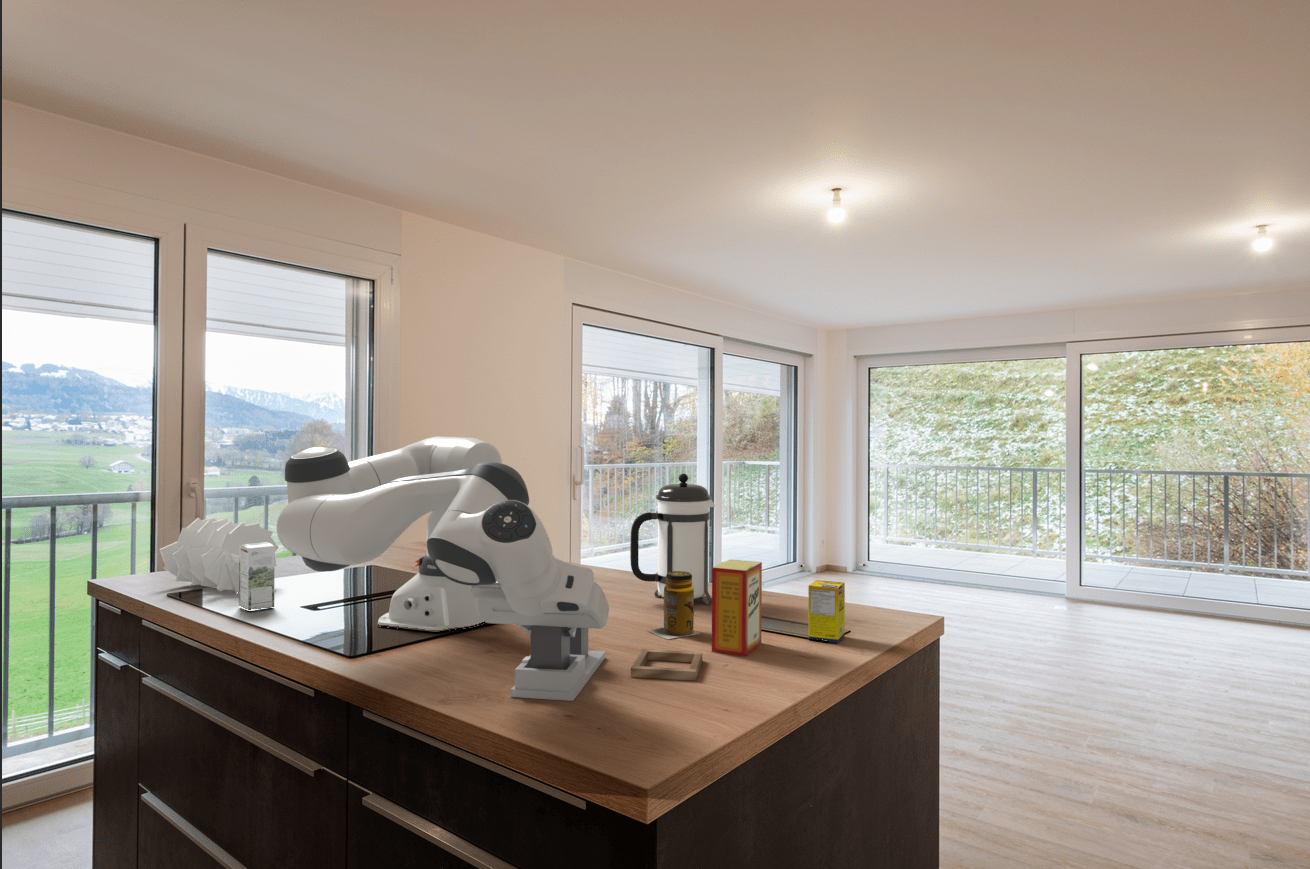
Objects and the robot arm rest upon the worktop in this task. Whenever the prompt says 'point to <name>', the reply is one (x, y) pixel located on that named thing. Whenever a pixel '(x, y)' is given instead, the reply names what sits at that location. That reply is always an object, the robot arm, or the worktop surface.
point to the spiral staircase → (212, 552)
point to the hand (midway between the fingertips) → (552, 632)
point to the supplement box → (826, 610)
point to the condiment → (678, 606)
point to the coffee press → (678, 536)
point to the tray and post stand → (559, 673)
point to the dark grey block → (549, 648)
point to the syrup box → (256, 575)
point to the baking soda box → (736, 607)
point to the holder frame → (667, 673)
